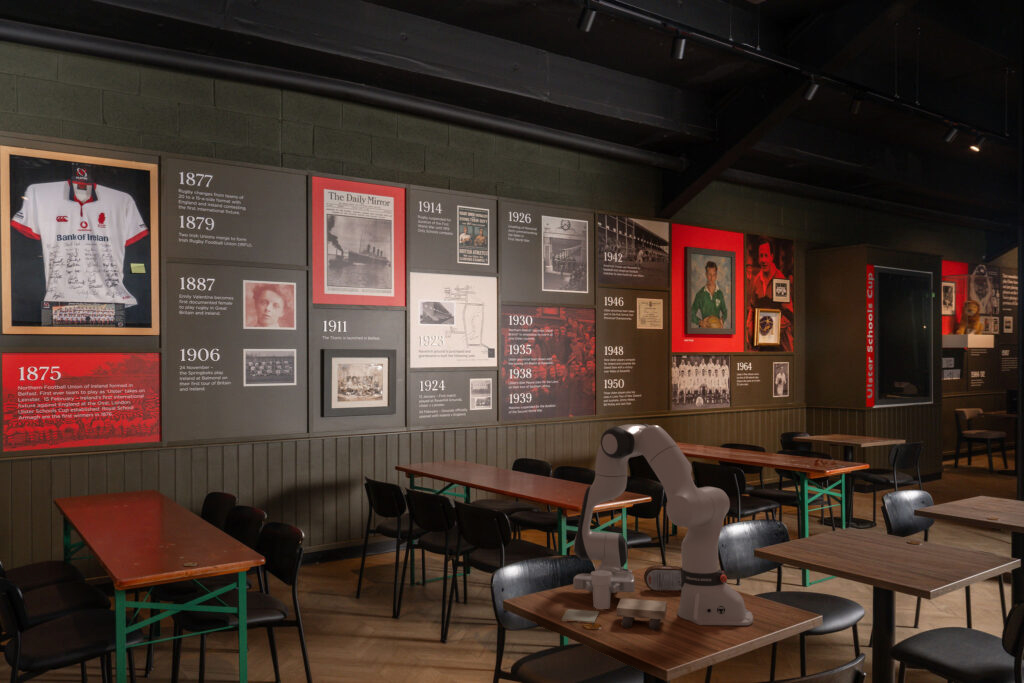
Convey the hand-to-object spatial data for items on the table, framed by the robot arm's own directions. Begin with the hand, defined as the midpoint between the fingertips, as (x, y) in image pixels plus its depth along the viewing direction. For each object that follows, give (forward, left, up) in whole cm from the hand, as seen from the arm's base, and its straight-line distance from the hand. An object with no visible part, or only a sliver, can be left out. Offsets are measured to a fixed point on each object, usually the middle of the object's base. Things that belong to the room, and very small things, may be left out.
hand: (601, 589), depth 240 cm
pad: (+5, +10, -6) cm, 13 cm away
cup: (0, -1, -6) cm, 6 cm away
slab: (-14, +11, -6) cm, 19 cm away
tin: (-19, -25, -6) cm, 32 cm away
